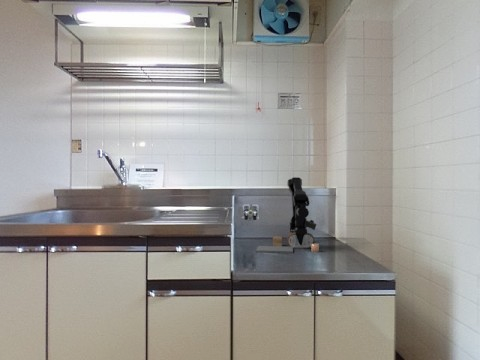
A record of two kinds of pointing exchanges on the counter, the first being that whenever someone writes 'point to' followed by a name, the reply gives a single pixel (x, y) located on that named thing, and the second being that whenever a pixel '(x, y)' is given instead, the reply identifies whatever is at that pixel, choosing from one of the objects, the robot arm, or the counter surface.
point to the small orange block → (314, 247)
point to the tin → (294, 242)
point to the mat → (274, 249)
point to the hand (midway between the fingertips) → (300, 244)
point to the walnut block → (277, 241)
